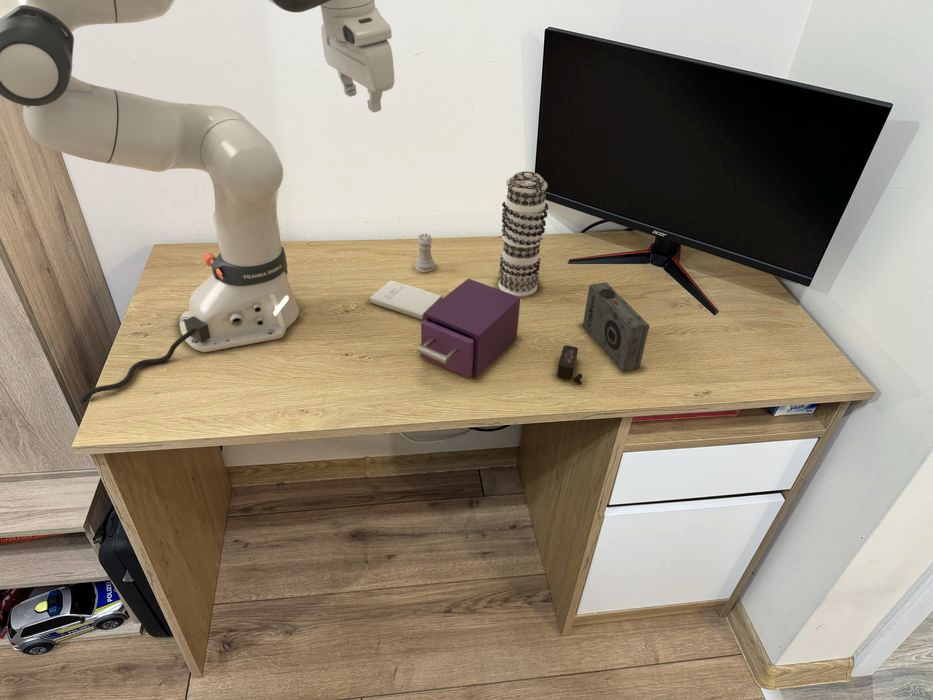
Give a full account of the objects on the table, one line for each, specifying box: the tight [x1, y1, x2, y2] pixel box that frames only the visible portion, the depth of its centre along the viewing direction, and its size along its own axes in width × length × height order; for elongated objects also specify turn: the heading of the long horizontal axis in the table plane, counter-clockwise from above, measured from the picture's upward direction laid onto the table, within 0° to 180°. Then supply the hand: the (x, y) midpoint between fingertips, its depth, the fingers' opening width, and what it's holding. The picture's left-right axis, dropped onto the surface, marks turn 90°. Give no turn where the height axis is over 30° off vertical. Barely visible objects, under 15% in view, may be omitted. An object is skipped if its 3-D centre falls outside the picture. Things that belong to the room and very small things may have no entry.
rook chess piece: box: [414, 233, 436, 274], centre depth 153 cm, size 4×4×8 cm
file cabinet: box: [423, 277, 522, 379], centre depth 130 cm, size 15×12×10 cm
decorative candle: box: [498, 171, 549, 298], centre depth 143 cm, size 9×9×25 cm
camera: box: [582, 281, 650, 372], centre depth 132 cm, size 16×4×10 cm, turn 21°
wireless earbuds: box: [556, 344, 583, 385], centre depth 127 cm, size 5×7×3 cm, turn 165°
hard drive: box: [369, 279, 443, 321], centre depth 144 cm, size 2×8×12 cm
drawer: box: [416, 319, 475, 379], centre depth 127 cm, size 18×10×8 cm, turn 147°
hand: (362, 102), depth 125 cm, fingers open, 8 cm apart
